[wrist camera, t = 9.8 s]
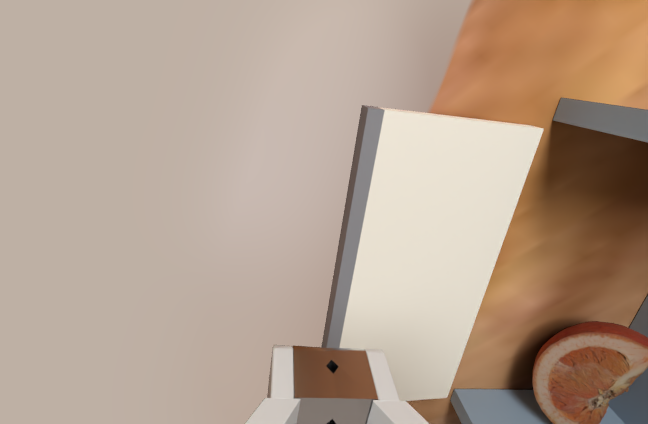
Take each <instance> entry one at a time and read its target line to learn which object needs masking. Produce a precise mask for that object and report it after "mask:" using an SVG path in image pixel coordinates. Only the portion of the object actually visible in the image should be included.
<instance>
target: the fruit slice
mask: <svg viewBox="0 0 648 424" xmlns="http://www.w3.org/2000/svg"><path fill="white" fill-rule="evenodd" d="M647 368H648V337H646V336H645V335H643V334H641V333H639V332H637V331H634V330H632V329H630V328H627V327H625V326H622V325H618V324H614V323H606V322H598V321H592V322H585V323H581V324H577V325H574V326H571V327H568V328H566V329H564V330H562V331H560V332H559V333H557V334H556V335H554V336H553V337H552V338H550V339H549V340H548V341H547V342H546V343H545V344H544V345H543V346H542V347H541V349H540V351H539V352H538V354H537V356H536V359H535V363H534V367H533V380H532V381H533V389H534V395H535V397H536V400H537V402H538V404H539V406H540V408H541V410H542V411H543V412H544V414H545V415H546V416H547V417H548V418H549V420H550V421H551V422H552V423H553V424H599V423H600V422H601V420H602V418H603V417H604V415H605V414H606V412H607V408H608V406H609V404H608V402H609V401H610V400H612V399H614V398H615V397H617V396H618V395H621V394H622V393H624V391H625V392H628V390H629V386H630V385H632V383H633V382H634V381H635V379H636V378H637V377H638V376H640V375H641V374H642V373H643V372H644V371H645V370H646V369H647Z"/></svg>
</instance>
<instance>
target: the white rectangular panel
mask: <svg viewBox="0 0 648 424" xmlns="http://www.w3.org/2000/svg"><path fill="white" fill-rule="evenodd" d="M543 130H544V129H542V128H538V127H534V126H531V125H523V124H514V123H506V122H498V121H489V120H481V119H473V118H464V117H456V116H448V115H439V114H431V113H423V112H414V111H406V110H397V109H389V108H381V107H373V106H364V105H362V108H361V114H360V120H359V126H358V132H357V138H356V144H355V151H354V157H353V162H352V168H351V174H350V180H349V186H348V192H347V198H346V204H345V210H344V216H343V222H342V229H341V234H340V240H339V246H338V252H337V258H336V264H335V270H334V276H333V282H332V288H331V294H330V300H329V306H328V312H327V318H326V324H325V330H324V336H323V342H322V348H351V349H382V350H383V351H384V353H385V356H386V359H387V362H388V365H389V368H390V371H391V374H392V377H393V381H394V384H395V387H396V390H397V393H398V396H399V399H400V401H412V400H425V399H438V398H447V397H448V394H449V391H450V388H451V385H452V383H453V380H454V377H455V374H456V372H457V369H458V366H459V363H460V360H461V358H462V355H463V352H464V349H465V347H466V344H467V341H468V338H469V335H470V333H471V330H472V327H473V324H474V322H475V319H476V316H477V313H478V310H479V308H480V305H481V302H482V299H483V297H484V294H485V291H486V288H487V285H488V283H489V280H490V277H491V274H492V272H493V269H494V266H495V263H496V260H497V258H498V255H499V252H500V249H501V247H502V244H503V241H504V238H505V235H506V233H507V230H508V227H509V224H510V222H511V219H512V216H513V213H514V210H515V208H516V205H517V202H518V199H519V197H520V194H521V191H522V188H523V185H524V183H525V180H526V177H527V174H528V172H529V169H530V166H531V163H532V160H533V158H534V155H535V152H536V149H537V147H538V144H539V141H540V138H541V135H542V133H543Z"/></svg>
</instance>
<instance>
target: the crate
mask: <svg viewBox="0 0 648 424" xmlns="http://www.w3.org/2000/svg"><path fill="white" fill-rule="evenodd" d="M553 121H557V122H562V123H566V124H570V125H575V126H579V127H583V128H588V129H592V130H596V131H601V132H605V133H609V134H613V135H618V136H622V137H626V138H631V139H635V140H639V141H644V142H648V110H644V109H637V108H630V107H623V106H616V105H609V104H602V103H595V102H588V101H581V100H574V99H567V98H561V99H560V102H559V105H558V107H557V110H556V113H555V116H554V118H553ZM629 328H630V329H632V330H634V331H637V332H639V333H641V334H643V335H645V336H646V337H648V295H647V297H646V299H645V301H644V302H643V304H642V306H641V308H640V310H639V311H638V313H637V315H636V317H635V318H634V320H633V322H632V324H631V325H630V327H629ZM450 401H451V403H452V405H453V407H454V409H455V411H456V413H457V415H458V417H459V419H460V421H461V423H462V424H553V423H552V422H551V421H550V420H549V418H548V417H547V416H546V415H545V414H544V412H543V411H542V410H541V408H540V406H539V404H538V402H537V400H536V397H535V395H534V390H508V389H454V392H453V394H452V397H451V400H450ZM608 404H609V406H608V408H607V412H606V414H605V415H604V417H603V418H602V420H601V422H600V423H599V424H648V368H647V369H646V370H645V371H644V372H643V373H642V374H641V375H640V376H638V377H637V378H636V379H635V381H634V382H633V383H632V385H630V386H629V390H628V392H625V391H624V393H622V394H621V395H618V396H617V397H615V398H614V399H612V400H610V401H609V402H608Z"/></svg>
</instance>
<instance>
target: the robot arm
mask: <svg viewBox="0 0 648 424" xmlns="http://www.w3.org/2000/svg"><path fill="white" fill-rule="evenodd" d="M245 424H429V423H428V422H427V421H426V420H425V419H424V418H423V417H422V416H421V415H420V414H419V413H418V412H417V411H416V410H415V409H413V408H412V407H411V406H410V405H409V404H408V403H407V402H406V401H400V399H399V396H398V393H397V390H396V387H395V384H394V381H393V377H392V374H391V371H390V368H389V365H388V362H387V359H386V356H385V353H384V351H383V350H382V349H351V348H320V347H305V346H293V347H292V346H283V345H274V346H273V351H272V360H271V368H270V377H269V386H268V397H267V398H265V399H264V400H263V401H262V403H261V404H260V405H259V406H258V407H257V409H256V410H255V411H254V413H253V414H252V415H251V416H250V418H249V419H248V420H247V422H246V423H245Z"/></svg>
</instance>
